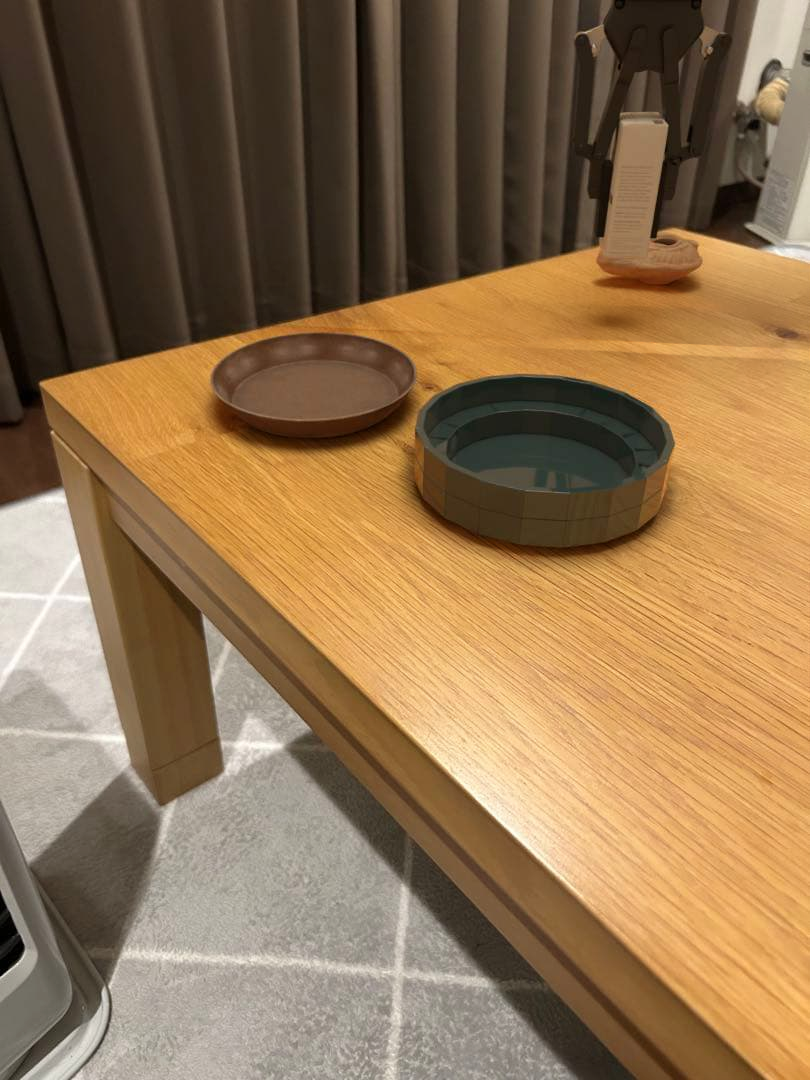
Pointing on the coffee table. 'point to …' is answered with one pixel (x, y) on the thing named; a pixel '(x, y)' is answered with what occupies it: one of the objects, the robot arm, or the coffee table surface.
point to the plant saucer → (314, 383)
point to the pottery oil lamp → (657, 261)
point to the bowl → (542, 459)
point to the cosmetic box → (633, 184)
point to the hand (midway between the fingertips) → (624, 233)
